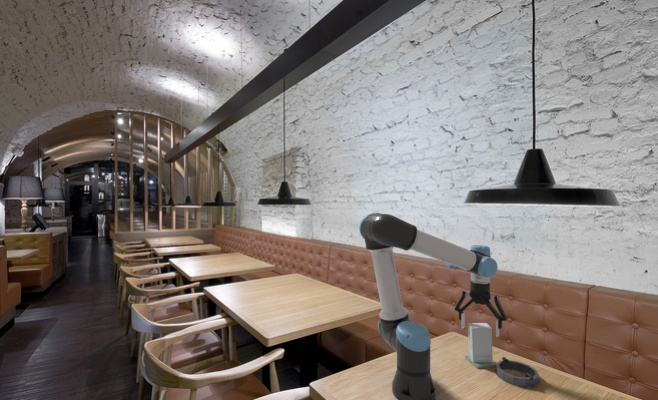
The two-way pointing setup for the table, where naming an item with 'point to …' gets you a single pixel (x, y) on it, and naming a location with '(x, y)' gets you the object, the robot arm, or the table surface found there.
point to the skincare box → (480, 342)
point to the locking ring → (530, 381)
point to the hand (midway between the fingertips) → (479, 331)
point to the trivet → (481, 363)
